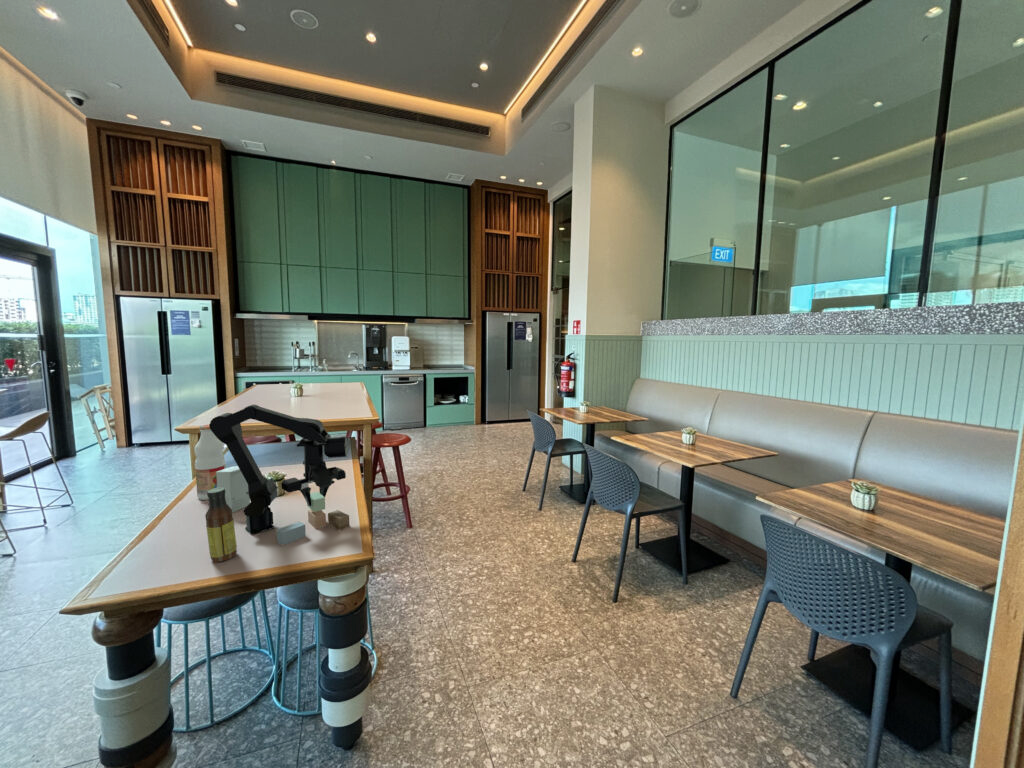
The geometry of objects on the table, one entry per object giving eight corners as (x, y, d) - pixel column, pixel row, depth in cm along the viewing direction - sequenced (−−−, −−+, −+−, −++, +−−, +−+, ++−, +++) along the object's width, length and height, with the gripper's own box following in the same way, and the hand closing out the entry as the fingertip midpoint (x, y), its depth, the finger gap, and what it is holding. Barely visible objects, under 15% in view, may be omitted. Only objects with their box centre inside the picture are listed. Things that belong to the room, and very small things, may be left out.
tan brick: (326, 525, 135) (325, 514, 135) (314, 528, 133) (314, 517, 132) (319, 518, 140) (318, 507, 140) (308, 521, 138) (307, 510, 137)
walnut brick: (349, 527, 134) (349, 515, 134) (339, 530, 131) (339, 519, 131) (338, 521, 138) (337, 509, 138) (328, 524, 136) (327, 513, 135)
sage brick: (325, 509, 134) (324, 497, 134) (314, 511, 132) (313, 500, 132) (318, 502, 139) (317, 491, 139) (307, 505, 137) (306, 494, 137)
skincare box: (232, 513, 144) (229, 472, 142) (217, 512, 145) (214, 471, 143) (251, 504, 152) (248, 465, 150) (237, 503, 153) (234, 464, 151)
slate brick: (282, 545, 122) (281, 532, 121) (277, 542, 124) (276, 529, 123) (305, 536, 127) (305, 524, 127) (300, 533, 129) (299, 521, 129)
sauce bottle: (236, 549, 119) (232, 483, 117) (237, 558, 114) (233, 490, 112) (208, 556, 115) (203, 488, 113) (208, 566, 110) (203, 495, 108)
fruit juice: (202, 493, 163) (197, 424, 160) (230, 490, 166) (225, 422, 163) (193, 501, 154) (187, 429, 151) (222, 498, 157) (217, 427, 154)
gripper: (294, 470, 122) (296, 520, 123) (353, 457, 136) (354, 502, 137) (279, 462, 129) (282, 510, 131) (337, 451, 143) (338, 494, 145)
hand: (315, 504), depth 136 cm, fingers closed on sage brick, 4 cm apart
